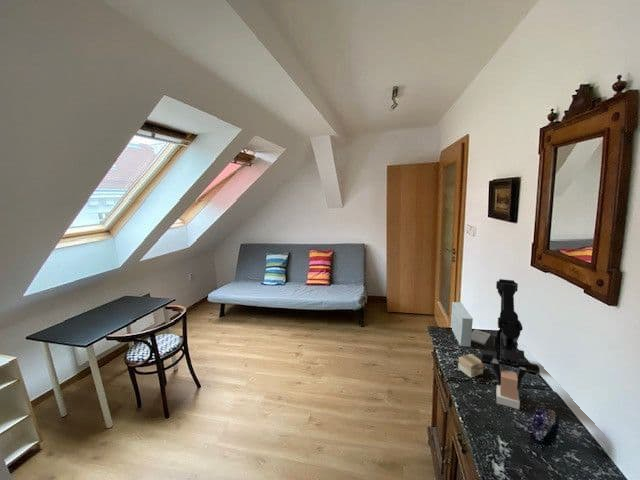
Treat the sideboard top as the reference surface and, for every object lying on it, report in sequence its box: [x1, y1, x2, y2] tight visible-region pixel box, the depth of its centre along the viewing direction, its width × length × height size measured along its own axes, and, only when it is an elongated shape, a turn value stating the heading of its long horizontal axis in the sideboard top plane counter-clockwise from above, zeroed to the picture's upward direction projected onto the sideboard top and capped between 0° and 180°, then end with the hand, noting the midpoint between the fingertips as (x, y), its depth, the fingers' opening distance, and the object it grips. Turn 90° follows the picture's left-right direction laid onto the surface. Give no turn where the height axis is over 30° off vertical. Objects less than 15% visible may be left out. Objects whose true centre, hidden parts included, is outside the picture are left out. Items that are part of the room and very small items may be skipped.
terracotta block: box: [499, 369, 518, 400], centre depth 107 cm, size 5×5×8 cm
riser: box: [495, 384, 521, 410], centre depth 108 cm, size 7×7×3 cm
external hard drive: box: [471, 329, 491, 346], centre depth 152 cm, size 2×8×12 cm
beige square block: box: [458, 353, 485, 372], centre depth 125 cm, size 7×7×3 cm
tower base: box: [457, 362, 484, 378], centre depth 126 cm, size 7×7×3 cm
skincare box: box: [450, 301, 473, 348], centre depth 153 cm, size 21×5×16 cm, turn 168°
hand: (508, 387), depth 106 cm, fingers closed on terracotta block, 5 cm apart
